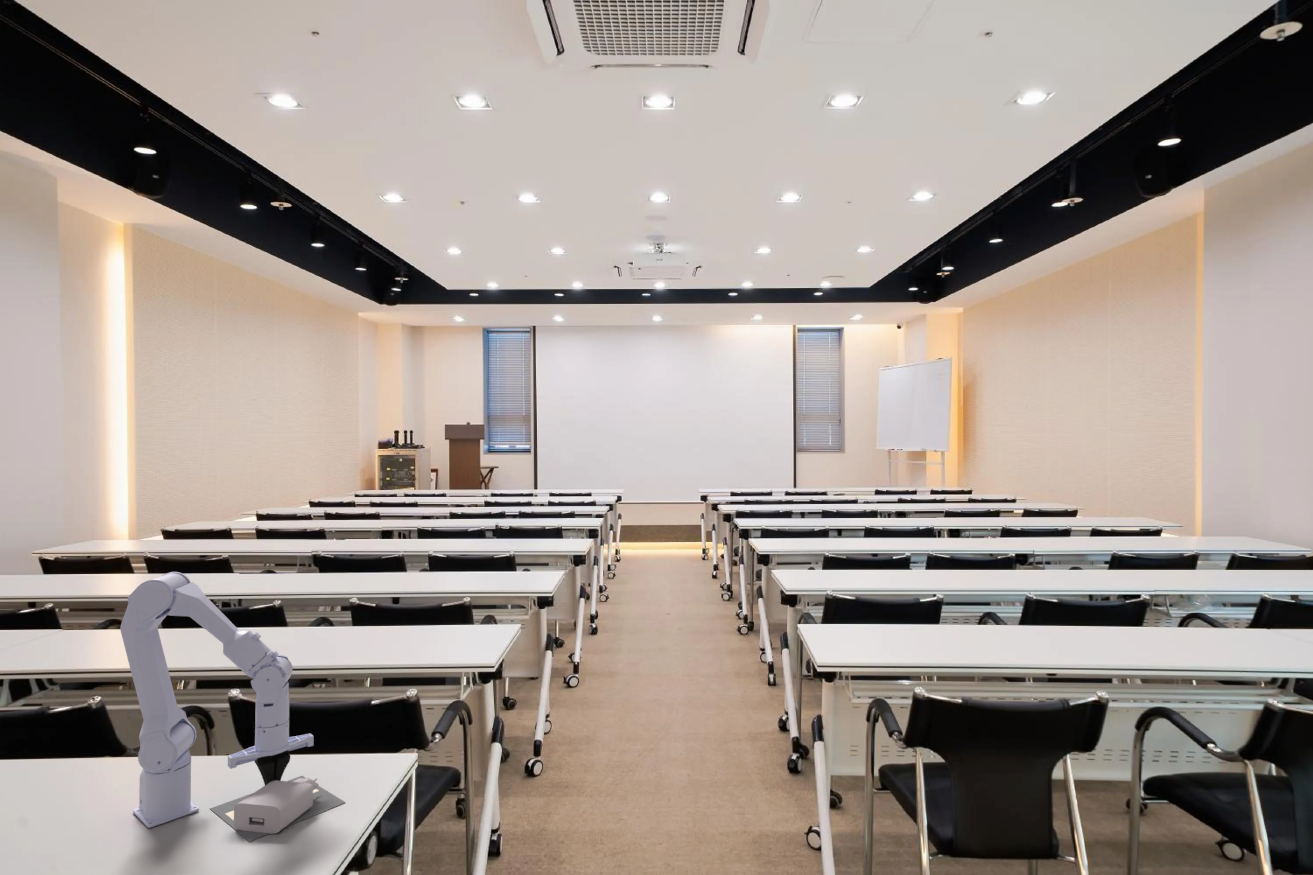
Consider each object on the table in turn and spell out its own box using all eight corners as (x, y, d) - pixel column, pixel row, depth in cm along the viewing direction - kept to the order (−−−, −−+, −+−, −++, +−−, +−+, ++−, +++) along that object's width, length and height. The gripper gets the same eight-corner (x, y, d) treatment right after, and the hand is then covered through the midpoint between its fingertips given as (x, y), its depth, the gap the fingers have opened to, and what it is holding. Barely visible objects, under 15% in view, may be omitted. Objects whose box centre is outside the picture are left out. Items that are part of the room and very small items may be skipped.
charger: (333, 792, 136) (279, 834, 121) (291, 789, 138) (233, 829, 123) (333, 768, 136) (280, 807, 121) (291, 765, 138) (233, 802, 123)
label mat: (209, 808, 130) (209, 807, 130) (302, 775, 144) (302, 775, 144) (249, 841, 119) (249, 840, 119) (345, 802, 133) (345, 801, 133)
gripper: (305, 707, 142) (304, 774, 141) (223, 726, 132) (223, 799, 131) (317, 716, 137) (317, 785, 136) (233, 737, 127) (232, 812, 126)
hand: (271, 793), depth 133 cm, fingers closed
